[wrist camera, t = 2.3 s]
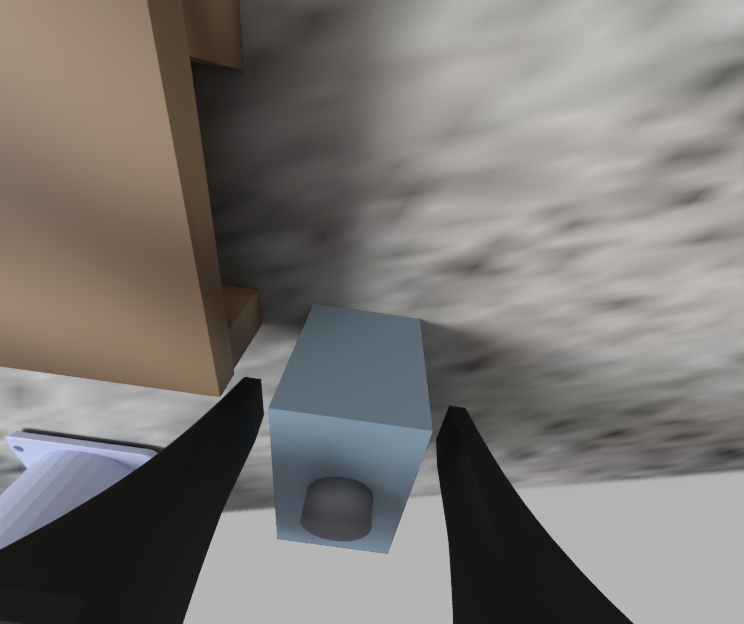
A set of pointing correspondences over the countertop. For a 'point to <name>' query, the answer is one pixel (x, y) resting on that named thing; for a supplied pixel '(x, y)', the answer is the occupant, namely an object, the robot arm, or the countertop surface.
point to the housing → (349, 428)
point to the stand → (114, 195)
